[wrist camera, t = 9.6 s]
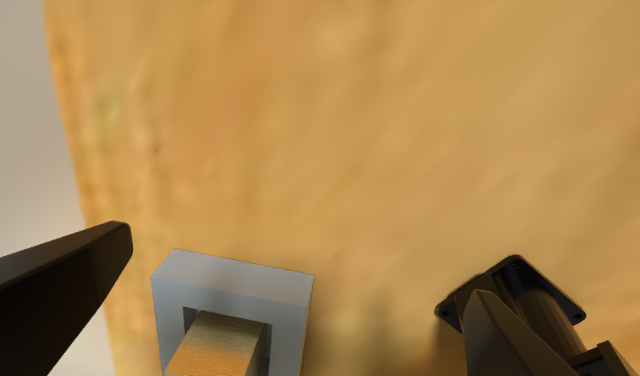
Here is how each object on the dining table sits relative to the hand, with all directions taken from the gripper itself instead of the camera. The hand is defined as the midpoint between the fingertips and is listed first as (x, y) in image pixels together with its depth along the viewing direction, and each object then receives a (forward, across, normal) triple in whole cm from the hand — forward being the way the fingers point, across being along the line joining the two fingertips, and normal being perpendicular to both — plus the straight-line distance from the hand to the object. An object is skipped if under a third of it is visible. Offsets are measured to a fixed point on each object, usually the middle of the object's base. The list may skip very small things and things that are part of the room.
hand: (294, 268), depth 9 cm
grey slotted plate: (+12, +5, +22) cm, 25 cm away
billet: (+11, +5, +16) cm, 20 cm away
